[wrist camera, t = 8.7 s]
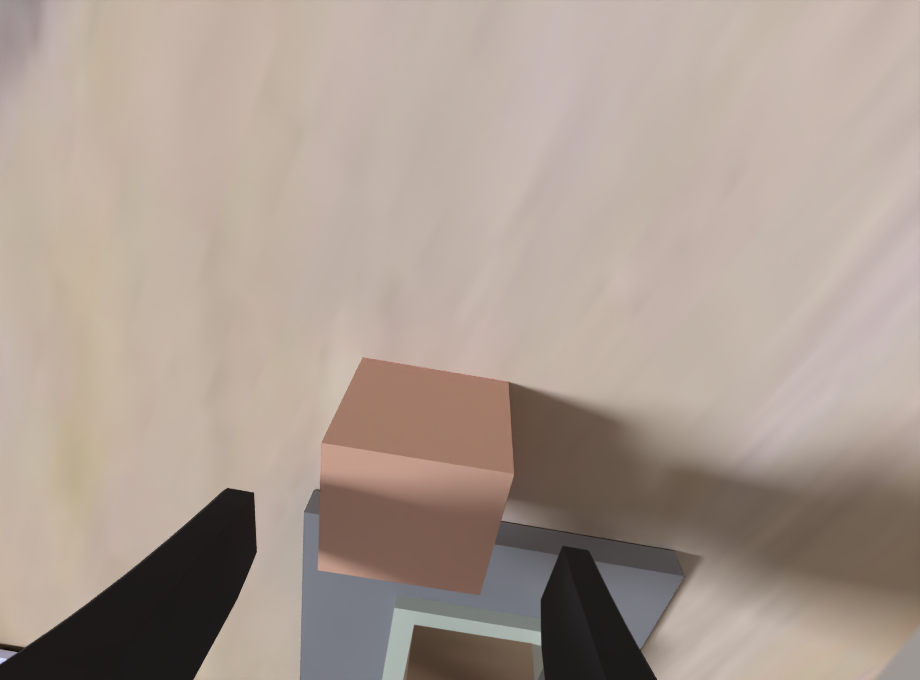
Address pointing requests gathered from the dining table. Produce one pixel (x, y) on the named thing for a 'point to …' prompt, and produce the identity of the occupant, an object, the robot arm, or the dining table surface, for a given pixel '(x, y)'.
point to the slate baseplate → (464, 601)
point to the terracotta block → (415, 477)
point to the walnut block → (466, 657)
